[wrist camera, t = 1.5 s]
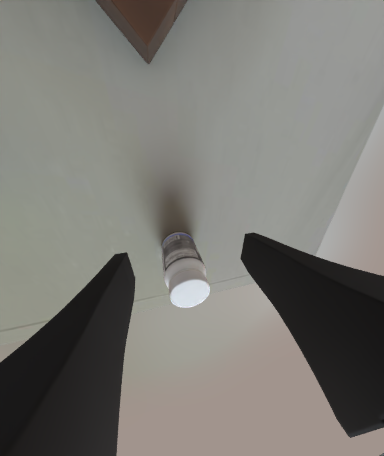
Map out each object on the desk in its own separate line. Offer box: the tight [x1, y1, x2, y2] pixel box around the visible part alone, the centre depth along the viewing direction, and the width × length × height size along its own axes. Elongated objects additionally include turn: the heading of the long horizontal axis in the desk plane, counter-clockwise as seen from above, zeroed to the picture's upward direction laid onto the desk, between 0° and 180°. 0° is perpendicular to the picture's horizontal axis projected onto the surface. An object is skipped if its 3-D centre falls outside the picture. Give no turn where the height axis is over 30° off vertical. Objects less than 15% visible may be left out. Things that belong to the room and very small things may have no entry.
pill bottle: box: [162, 232, 210, 308], centre depth 17 cm, size 5×5×8 cm
